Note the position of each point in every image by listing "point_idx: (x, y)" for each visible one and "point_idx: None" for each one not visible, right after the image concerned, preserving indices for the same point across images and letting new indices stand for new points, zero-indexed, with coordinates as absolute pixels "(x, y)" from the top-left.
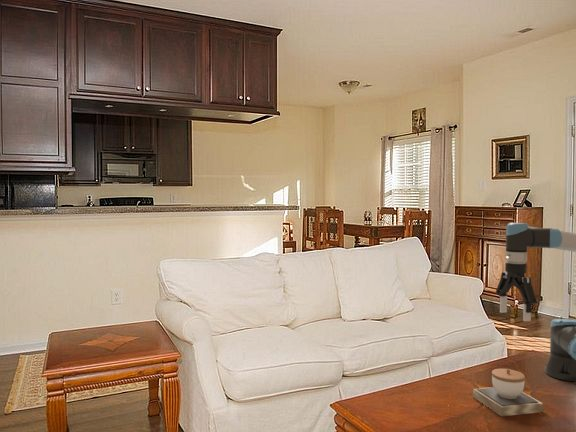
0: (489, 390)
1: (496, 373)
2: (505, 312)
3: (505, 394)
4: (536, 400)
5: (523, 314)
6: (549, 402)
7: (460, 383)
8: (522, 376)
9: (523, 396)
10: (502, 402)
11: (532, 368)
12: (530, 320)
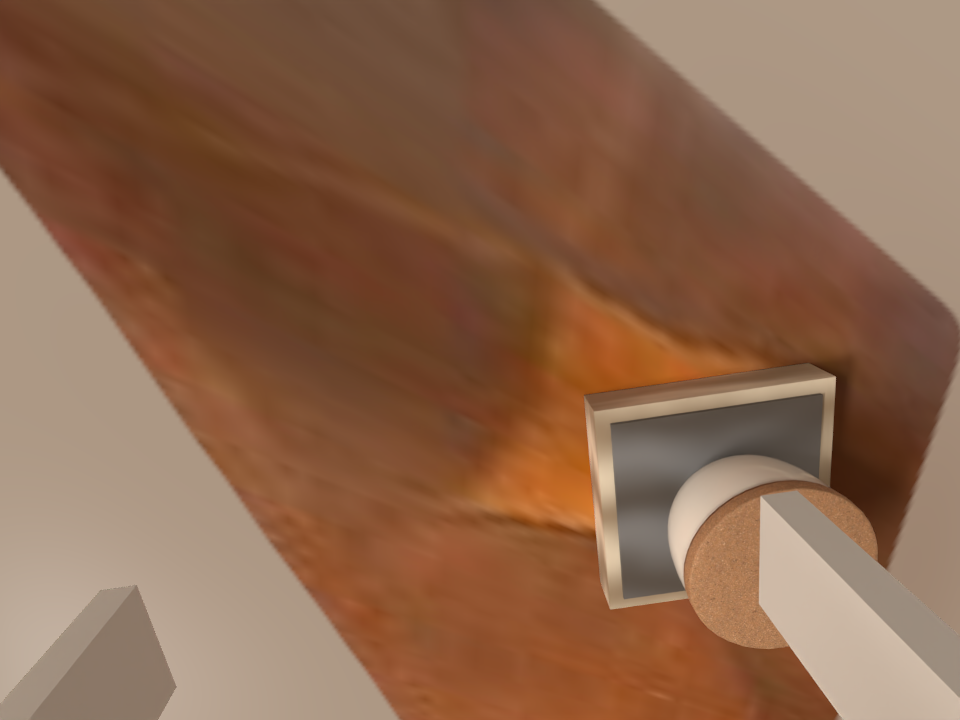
0: (651, 554)
1: (770, 636)
2: (144, 609)
3: None
4: (797, 387)
5: (833, 698)
6: (719, 259)
7: (436, 573)
8: (850, 519)
9: (751, 432)
10: None
11: (169, 7)
12: (801, 499)
